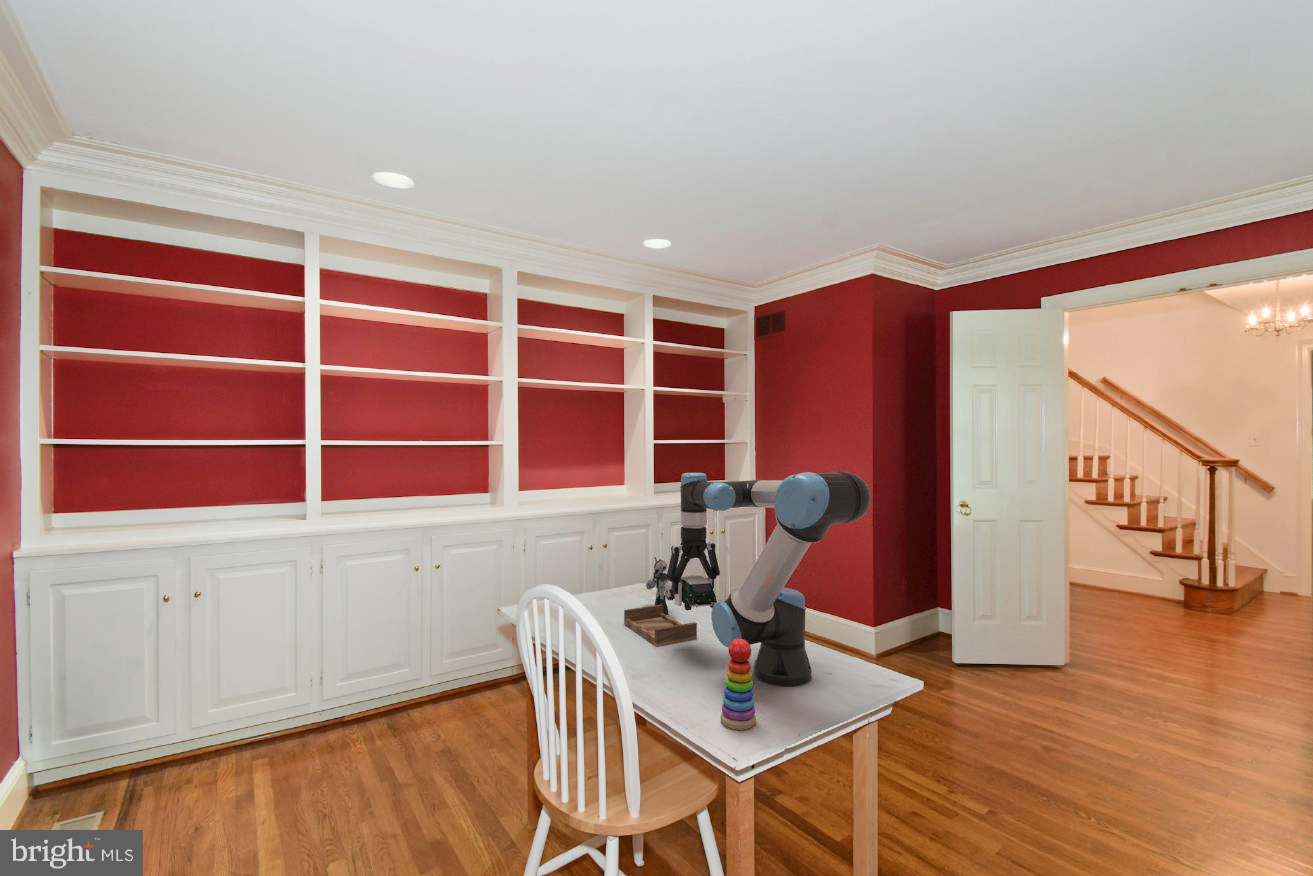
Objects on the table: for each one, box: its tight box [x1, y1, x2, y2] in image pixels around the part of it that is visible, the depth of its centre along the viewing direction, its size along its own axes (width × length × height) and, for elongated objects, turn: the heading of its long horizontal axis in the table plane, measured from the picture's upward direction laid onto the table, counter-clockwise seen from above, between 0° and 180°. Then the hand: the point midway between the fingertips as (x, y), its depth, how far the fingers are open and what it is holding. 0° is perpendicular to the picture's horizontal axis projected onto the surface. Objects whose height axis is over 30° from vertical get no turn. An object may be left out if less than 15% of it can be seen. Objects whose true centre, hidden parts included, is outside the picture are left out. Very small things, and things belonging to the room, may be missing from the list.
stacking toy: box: [719, 639, 757, 731], centre depth 132 cm, size 8×8×19 cm
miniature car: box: [670, 574, 718, 611], centre depth 172 cm, size 9×18×8 cm, turn 17°
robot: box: [645, 556, 674, 616], centre depth 214 cm, size 20×5×20 cm, turn 26°
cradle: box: [623, 604, 698, 647], centre depth 193 cm, size 23×14×5 cm, turn 28°
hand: (693, 602), depth 172 cm, fingers closed on miniature car, 10 cm apart
